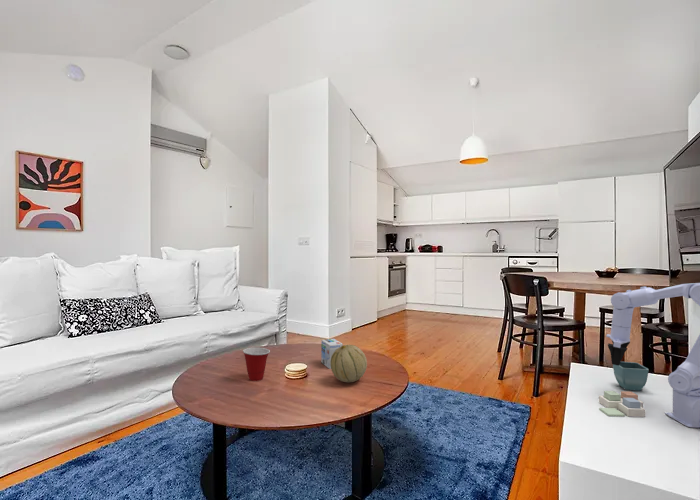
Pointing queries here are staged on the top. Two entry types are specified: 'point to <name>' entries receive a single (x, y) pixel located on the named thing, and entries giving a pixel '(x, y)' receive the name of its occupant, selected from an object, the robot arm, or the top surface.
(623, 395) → the orange-brown cube
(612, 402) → the button strip
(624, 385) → the flower pot
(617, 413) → the sage swatch
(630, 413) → the side socket
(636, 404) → the blue-grey cube
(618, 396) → the sage button
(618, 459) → the top surface
